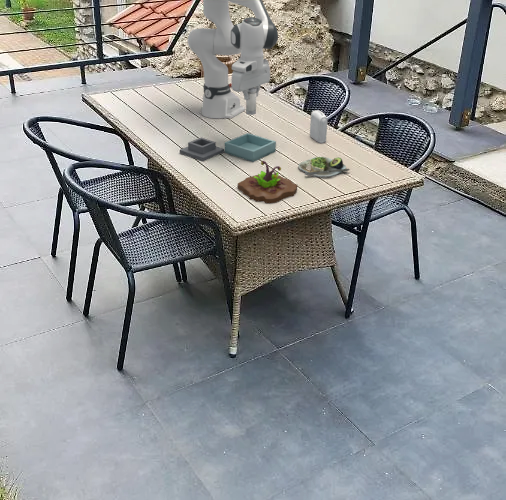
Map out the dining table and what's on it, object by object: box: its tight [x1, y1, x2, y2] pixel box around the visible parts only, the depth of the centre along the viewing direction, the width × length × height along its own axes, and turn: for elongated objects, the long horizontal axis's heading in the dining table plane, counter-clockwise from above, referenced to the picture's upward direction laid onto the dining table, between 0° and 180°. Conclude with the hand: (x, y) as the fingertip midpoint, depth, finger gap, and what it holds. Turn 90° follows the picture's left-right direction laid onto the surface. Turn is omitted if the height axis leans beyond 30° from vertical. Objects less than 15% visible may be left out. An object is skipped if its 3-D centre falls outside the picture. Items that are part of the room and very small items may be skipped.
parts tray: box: [224, 132, 277, 163], centre depth 269 cm, size 15×15×4 cm
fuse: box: [245, 87, 257, 116], centre depth 259 cm, size 4×4×10 cm
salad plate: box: [297, 156, 351, 178], centre depth 255 cm, size 19×18×5 cm
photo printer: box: [309, 109, 328, 144], centre depth 282 cm, size 10×4×12 cm, turn 20°
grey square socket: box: [179, 137, 225, 162], centre depth 268 cm, size 13×13×4 cm
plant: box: [237, 160, 298, 205], centre depth 236 cm, size 20×20×11 cm
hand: (251, 98), depth 259 cm, fingers closed on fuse, 4 cm apart
